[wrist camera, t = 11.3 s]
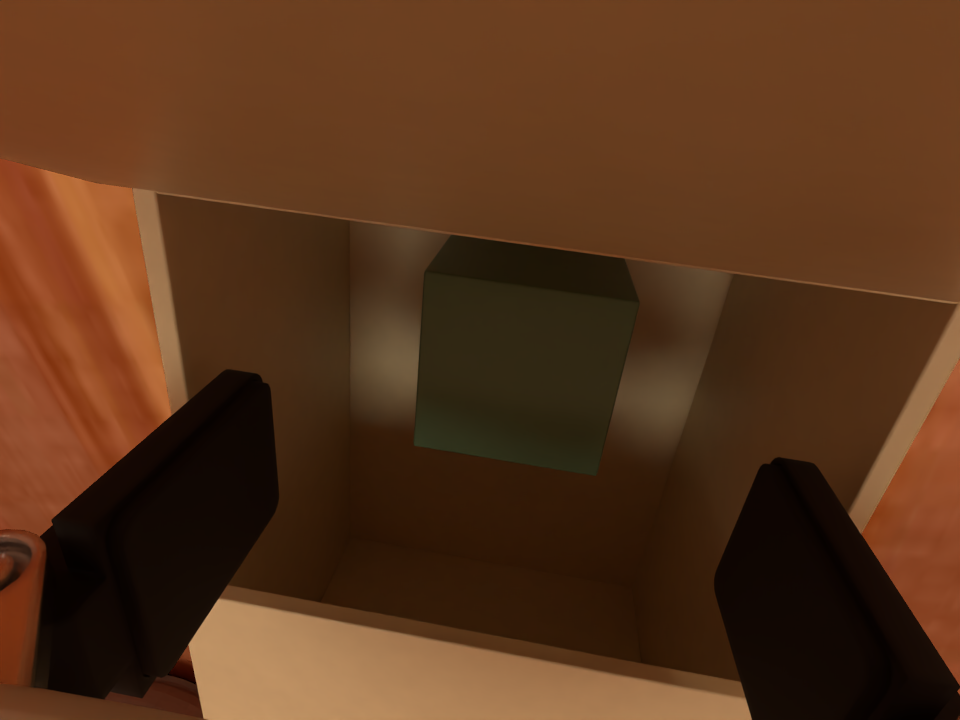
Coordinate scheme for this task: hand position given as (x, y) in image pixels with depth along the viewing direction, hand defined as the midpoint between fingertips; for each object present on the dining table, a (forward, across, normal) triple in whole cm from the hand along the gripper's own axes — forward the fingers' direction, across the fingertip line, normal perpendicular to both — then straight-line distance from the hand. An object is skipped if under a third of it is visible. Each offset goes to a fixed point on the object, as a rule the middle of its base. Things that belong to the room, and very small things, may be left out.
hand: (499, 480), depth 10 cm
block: (+9, 0, 0) cm, 9 cm away
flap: (-4, 0, -6) cm, 8 cm away
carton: (+9, 0, +4) cm, 10 cm away
